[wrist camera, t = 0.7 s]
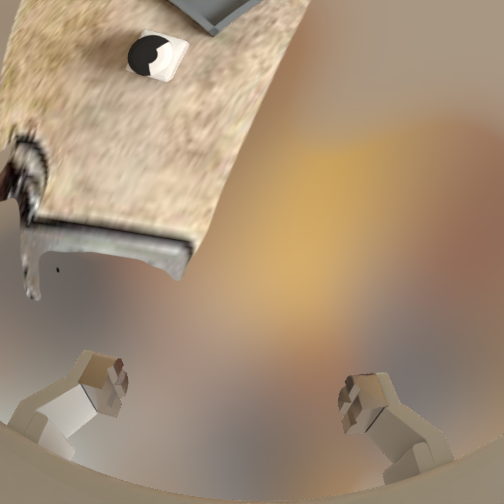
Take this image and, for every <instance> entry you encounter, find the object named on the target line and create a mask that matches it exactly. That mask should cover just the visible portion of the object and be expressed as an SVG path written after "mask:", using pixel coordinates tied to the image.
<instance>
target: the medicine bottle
mask: <svg viewBox="0 0 504 504" xmlns="http://www.w3.org/2000/svg"><path fill="white" fill-rule="evenodd" d="M188 47H189V43H188V42H187V41H185V40H182V39H179V38H175V37H172V36H169V35H166V34H162V33H159V32H155V31H151V30H147V29H144V30H143V31H142V33H141V35H140V37H139V39H138V40H137V41H136V42H135V43H134V44H133V45H132V46H131V48H130V50H129V53H128V64H127V66H126V71H129V72H133V73H136V74H139V75H142V76H147V77H150V78H153V79H157V80H160V81H163V82H168V81H169V80H171V79H172V78H173V76H174V74H175V72H176V70H177V68H178V66H179V64H180V62H181V60H182V58H183V56H184V54H185V52H186V50H187V48H188Z"/></svg>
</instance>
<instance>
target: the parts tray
mask: <svg viewBox="0 0 504 504" xmlns="http://www.w3.org/2000/svg"><path fill="white" fill-rule="evenodd" d="M168 1H169V2H170V3H172V4H173V5H174V6H176V7H177V8H178V9H180V10H181V11H182V12H183V13H185V14H186V15H187V16H188V17H190V18H191V19H192V20H193V21H195V22H196V23H197V24H198V25H199V26H201V27H202V28H203V29H204V30H205V31H206V32H208V33H209V34H210V35H211V36H212V37H214V36H216V35H217V34H218V33H219V32H220V31H222V30H223V29H224V28H226V27H227V26H228V25H229V24H231V23H232V22H233V21H235V20H236V19H237V18H239V17H240V16H242V15H243V14H244V13H246V12H247V11H249V10H250V9H251V8H253V7H254V6H256V5H257V4H259V3H260V2H262V1H263V0H168Z"/></svg>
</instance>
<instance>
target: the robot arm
mask: <svg viewBox="0 0 504 504" xmlns="http://www.w3.org/2000/svg"><path fill="white" fill-rule="evenodd" d="M122 367H123V362H122V359H120V358H116V357H113V356H109V355H105V354H101V353H98V352H94V351H90V350H84V351H83V352H82V353H81V355H80V356H79V358H78V360H77V361H76V363H75V364H74V366H73V368H72V370H71V371H70V373H69V375H68V376H67V378H66V379H65V378H62V379H60V380H59V381H57V382H55V383H53V384H51V385H50V386H48V387H46V388H44V389H42V390H40V391H39V392H37V393H35V394H33V395H31V396H30V397H28V398H26V399H24V400H22V401H21V402H20V403H19V405H18V407H17V408H16V410H15V412H14V414H13V415H12V417H11V419H10V421H9V423H8V425H5V424H4V423H2V422H1V421H0V504H504V434H502V435H501V436H499V437H497V438H496V439H494V440H492V441H491V442H489V443H487V444H485V445H483V446H482V447H480V448H478V449H476V450H474V451H472V452H470V453H468V454H466V455H464V456H462V457H460V458H458V459H456V460H454V457H453V454H452V452H451V449H450V447H449V444H448V442H447V439H446V437H445V434H444V433H442V432H441V431H439V430H438V429H437V428H435V427H434V426H433V425H431V424H430V423H428V422H427V421H426V420H425V419H423V418H422V417H421V416H419V415H418V414H416V413H415V412H414V411H412V410H411V409H410V408H409V407H407V406H406V405H404V404H400V401H399V399H398V397H397V394H396V392H395V389H394V387H393V385H392V382H391V380H390V378H389V375H388V374H387V373H386V372H382V373H370V374H358V375H349V376H348V377H347V378H346V380H345V384H346V386H345V387H343V388H342V389H341V391H340V393H339V397H338V407H339V412H341V413H342V414H343V415H344V418H343V420H342V425H343V429H344V434H345V435H351V434H360V433H365V434H366V435H367V436H368V438H369V439H370V440H371V441H372V442H373V443H374V444H375V445H376V446H377V447H378V448H379V449H380V450H381V451H382V452H383V453H384V454H385V456H386V457H387V458H388V459H389V460H390V461H391V462H392V463H393V464H392V465H391V466H389V467H388V468H387V469H386V470H385V471H384V472H383V473H382V474H383V478H384V482H385V485H384V486H380V487H376V488H372V489H367V490H363V491H358V492H353V493H348V494H342V495H336V496H329V497H322V498H314V499H303V500H288V501H238V500H236V501H235V500H223V499H212V498H204V497H195V496H188V495H183V494H177V493H172V492H167V491H162V490H158V489H153V488H149V487H145V486H141V485H138V484H134V483H130V482H127V481H123V480H120V479H117V478H114V477H111V476H108V475H105V474H102V473H100V472H97V471H94V470H92V469H89V468H87V467H84V466H82V465H79V464H77V463H75V462H73V461H71V460H72V458H73V455H74V452H75V448H74V446H73V445H72V444H71V443H70V442H69V441H68V440H67V439H66V438H68V437H69V436H70V435H71V434H73V433H74V432H75V431H76V430H78V429H79V428H80V427H81V426H83V425H84V424H85V423H86V422H88V421H89V420H90V419H91V418H93V417H94V416H95V415H96V414H97V412H98V413H101V414H105V415H109V416H113V417H117V415H118V413H119V410H120V408H121V405H122V403H121V401H120V398H122V397H123V396H125V395H126V392H127V389H128V376H127V373H126V372H125V371H124V370H123V369H122Z"/></svg>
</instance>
